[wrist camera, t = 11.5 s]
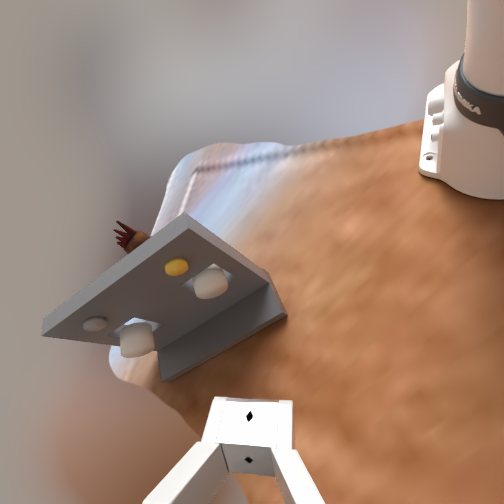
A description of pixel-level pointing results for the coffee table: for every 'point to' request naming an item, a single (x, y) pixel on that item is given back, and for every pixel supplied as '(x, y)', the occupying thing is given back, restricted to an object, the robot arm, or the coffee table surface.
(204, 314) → the control panel
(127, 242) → the wooden figurine
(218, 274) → the beige rounded lump
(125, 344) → the unlit button
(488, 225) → the coffee table surface
